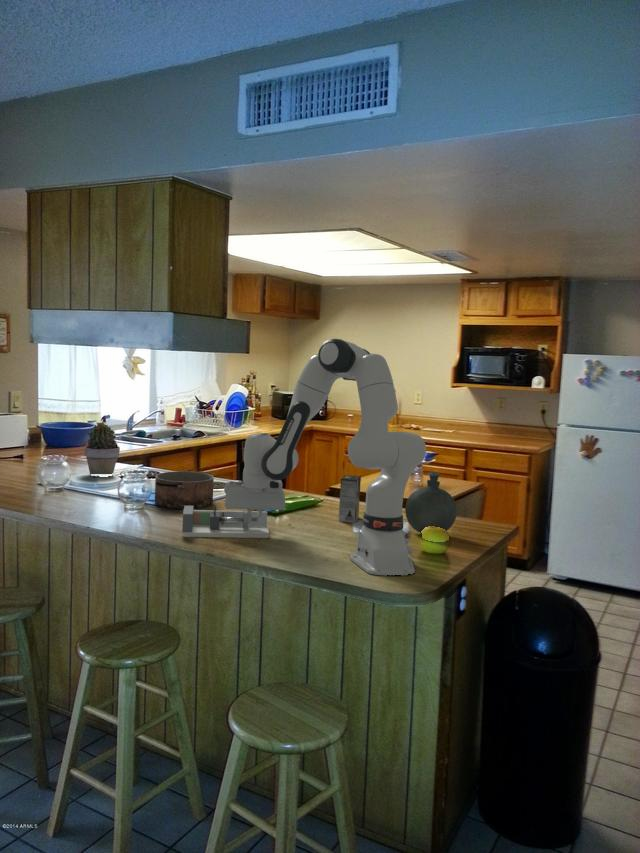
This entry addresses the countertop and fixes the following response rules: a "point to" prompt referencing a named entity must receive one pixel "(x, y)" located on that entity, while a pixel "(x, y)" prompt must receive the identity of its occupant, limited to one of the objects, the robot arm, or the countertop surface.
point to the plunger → (237, 519)
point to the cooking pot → (184, 489)
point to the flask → (431, 506)
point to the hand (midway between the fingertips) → (254, 521)
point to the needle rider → (214, 519)
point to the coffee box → (349, 498)
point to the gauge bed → (222, 524)
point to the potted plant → (101, 450)
